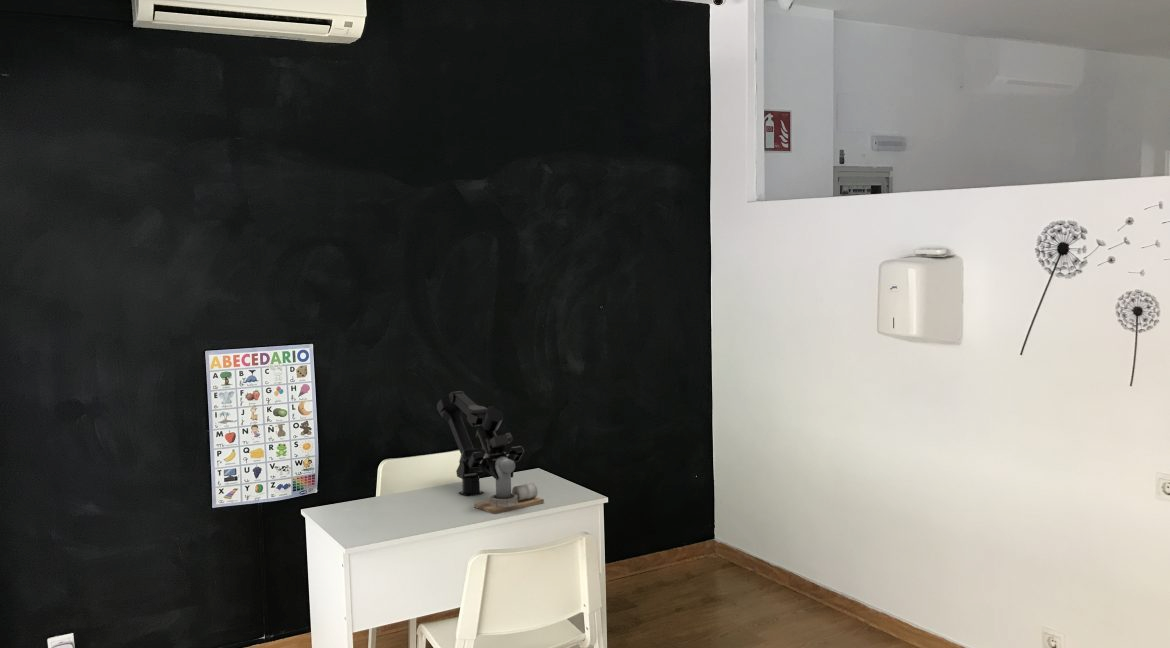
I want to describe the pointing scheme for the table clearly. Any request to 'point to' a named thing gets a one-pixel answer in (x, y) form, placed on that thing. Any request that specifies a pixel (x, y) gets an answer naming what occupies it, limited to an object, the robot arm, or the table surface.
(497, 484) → the elbow
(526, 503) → the board
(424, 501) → the table surface
